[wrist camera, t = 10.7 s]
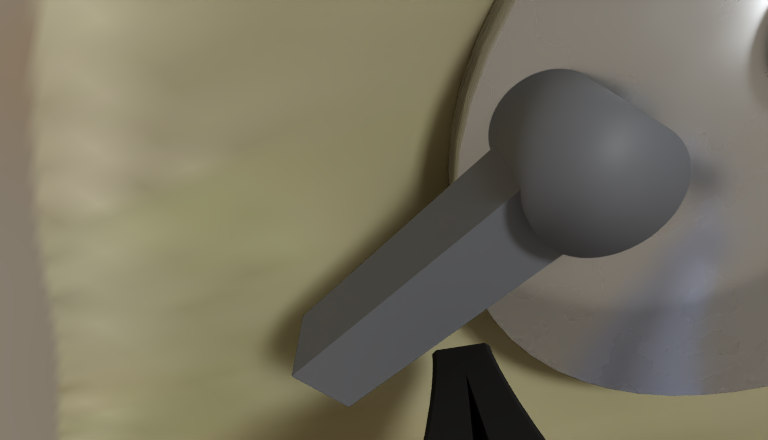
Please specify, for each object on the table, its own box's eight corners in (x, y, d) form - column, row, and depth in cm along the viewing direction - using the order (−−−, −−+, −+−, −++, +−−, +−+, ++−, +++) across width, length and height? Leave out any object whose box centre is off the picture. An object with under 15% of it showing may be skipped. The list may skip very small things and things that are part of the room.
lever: (561, 40, 8) (638, 81, 6) (629, 125, 9) (719, 190, 7) (294, 291, 11) (272, 383, 9) (364, 335, 12) (361, 430, 10)
